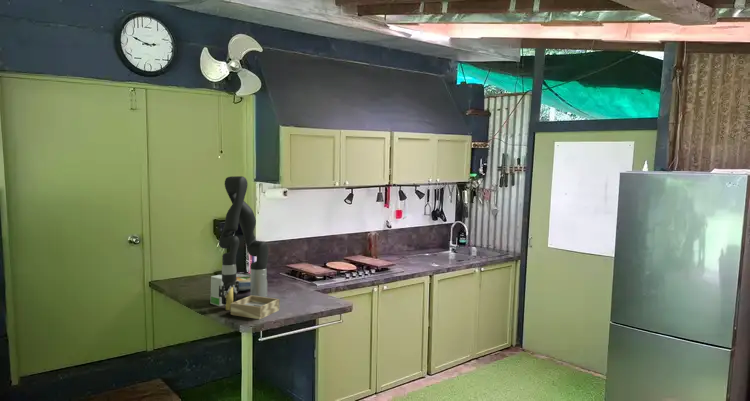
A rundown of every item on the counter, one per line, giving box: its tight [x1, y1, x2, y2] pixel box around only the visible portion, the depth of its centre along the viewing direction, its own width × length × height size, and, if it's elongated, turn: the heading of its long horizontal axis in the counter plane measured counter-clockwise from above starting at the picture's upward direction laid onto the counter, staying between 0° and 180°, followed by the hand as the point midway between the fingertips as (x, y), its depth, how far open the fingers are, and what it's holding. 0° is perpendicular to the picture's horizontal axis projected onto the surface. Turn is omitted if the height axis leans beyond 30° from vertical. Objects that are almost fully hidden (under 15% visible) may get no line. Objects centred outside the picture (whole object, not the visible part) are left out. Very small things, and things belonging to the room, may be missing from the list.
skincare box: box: [210, 274, 225, 307], centre depth 289 cm, size 8×7×16 cm
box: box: [230, 295, 281, 320], centre depth 275 cm, size 18×18×6 cm
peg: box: [224, 287, 234, 311], centre depth 279 cm, size 4×4×12 cm
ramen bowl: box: [236, 272, 269, 292], centre depth 323 cm, size 25×23×8 cm
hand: (229, 302), depth 279 cm, fingers open, 8 cm apart
